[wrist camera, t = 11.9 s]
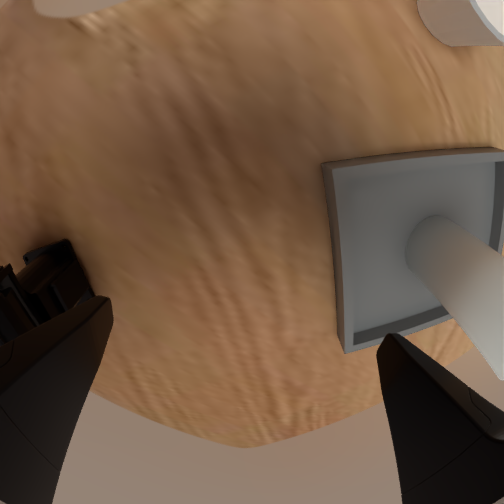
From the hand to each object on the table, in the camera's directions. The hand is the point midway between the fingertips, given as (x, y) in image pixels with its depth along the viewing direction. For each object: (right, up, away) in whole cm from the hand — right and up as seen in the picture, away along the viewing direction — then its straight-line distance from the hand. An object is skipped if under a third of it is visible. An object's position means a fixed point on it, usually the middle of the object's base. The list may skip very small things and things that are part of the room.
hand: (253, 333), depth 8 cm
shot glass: (+16, +22, +5) cm, 28 cm away
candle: (+15, +3, +12) cm, 20 cm away
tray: (+15, +3, +13) cm, 21 cm away
